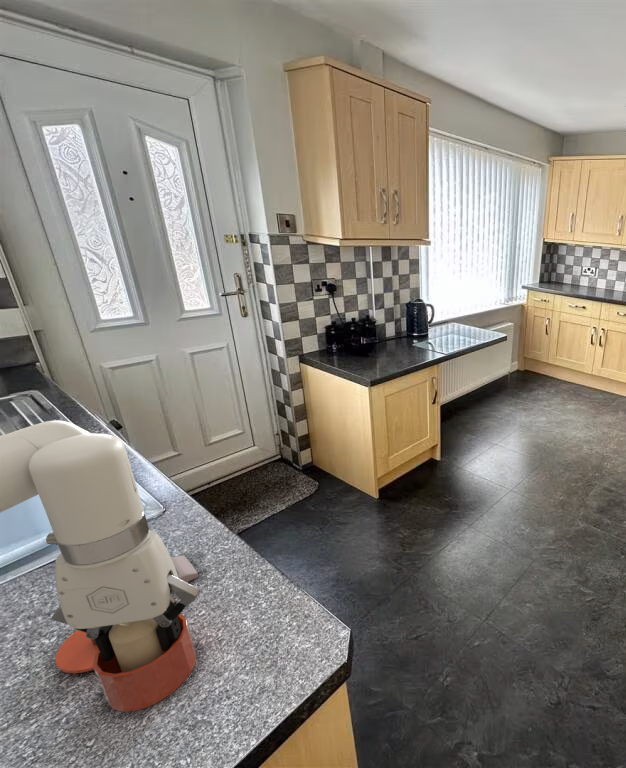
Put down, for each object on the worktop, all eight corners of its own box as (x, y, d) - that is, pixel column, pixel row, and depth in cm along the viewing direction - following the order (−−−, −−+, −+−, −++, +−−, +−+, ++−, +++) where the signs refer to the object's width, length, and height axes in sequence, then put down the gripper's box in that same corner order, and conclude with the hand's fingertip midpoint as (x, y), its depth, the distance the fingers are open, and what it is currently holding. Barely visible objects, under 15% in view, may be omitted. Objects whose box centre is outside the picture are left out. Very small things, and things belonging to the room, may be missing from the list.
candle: (185, 663, 59) (169, 610, 55) (135, 698, 54) (115, 641, 51) (167, 643, 61) (151, 590, 58) (119, 674, 57) (98, 619, 53)
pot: (90, 720, 52) (74, 684, 50) (132, 650, 61) (120, 617, 59) (178, 702, 55) (166, 667, 52) (207, 638, 63) (198, 605, 61)
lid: (37, 684, 56) (23, 653, 54) (87, 620, 65) (76, 592, 63) (127, 667, 58) (117, 638, 57) (163, 608, 68) (155, 581, 66)
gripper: (-15, 570, 44) (41, 688, 50) (176, 547, 49) (206, 659, 55) (39, 524, 51) (83, 633, 57) (202, 508, 55) (227, 611, 62)
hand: (143, 645), depth 56 cm, fingers closed on candle, 5 cm apart
